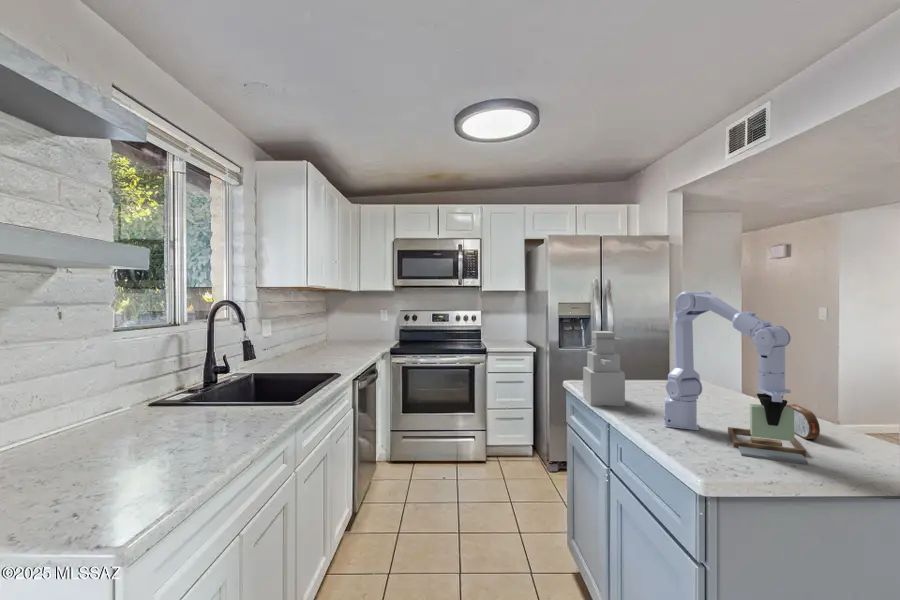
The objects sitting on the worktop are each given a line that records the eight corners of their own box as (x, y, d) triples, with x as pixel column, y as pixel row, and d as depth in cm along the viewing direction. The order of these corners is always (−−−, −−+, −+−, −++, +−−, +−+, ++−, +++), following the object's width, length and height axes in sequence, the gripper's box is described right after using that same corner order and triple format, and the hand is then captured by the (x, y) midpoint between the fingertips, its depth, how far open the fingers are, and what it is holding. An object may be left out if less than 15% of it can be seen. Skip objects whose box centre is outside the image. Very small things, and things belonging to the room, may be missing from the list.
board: (752, 436, 116) (752, 406, 116) (750, 433, 119) (750, 404, 119) (794, 441, 112) (794, 410, 112) (791, 437, 115) (791, 407, 115)
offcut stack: (748, 446, 124) (748, 439, 124) (746, 443, 126) (746, 436, 126) (782, 450, 121) (782, 443, 121) (780, 447, 123) (780, 440, 123)
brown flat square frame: (733, 447, 122) (733, 441, 122) (727, 431, 136) (727, 427, 136) (805, 456, 115) (805, 450, 115) (791, 439, 128) (791, 434, 128)
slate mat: (741, 455, 116) (741, 453, 116) (738, 448, 121) (738, 446, 121) (807, 464, 110) (807, 462, 110) (801, 456, 115) (801, 454, 115)
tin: (821, 443, 125) (821, 414, 125) (808, 442, 125) (808, 413, 125) (791, 427, 139) (791, 401, 139) (780, 427, 140) (780, 400, 140)
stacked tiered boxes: (610, 394, 186) (610, 329, 186) (629, 409, 163) (629, 334, 162) (580, 394, 187) (579, 329, 187) (593, 409, 164) (593, 334, 163)
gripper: (797, 378, 107) (797, 433, 107) (783, 368, 120) (783, 417, 120) (762, 375, 110) (762, 429, 110) (752, 366, 123) (753, 414, 123)
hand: (771, 423), depth 115 cm, fingers closed on board, 3 cm apart
